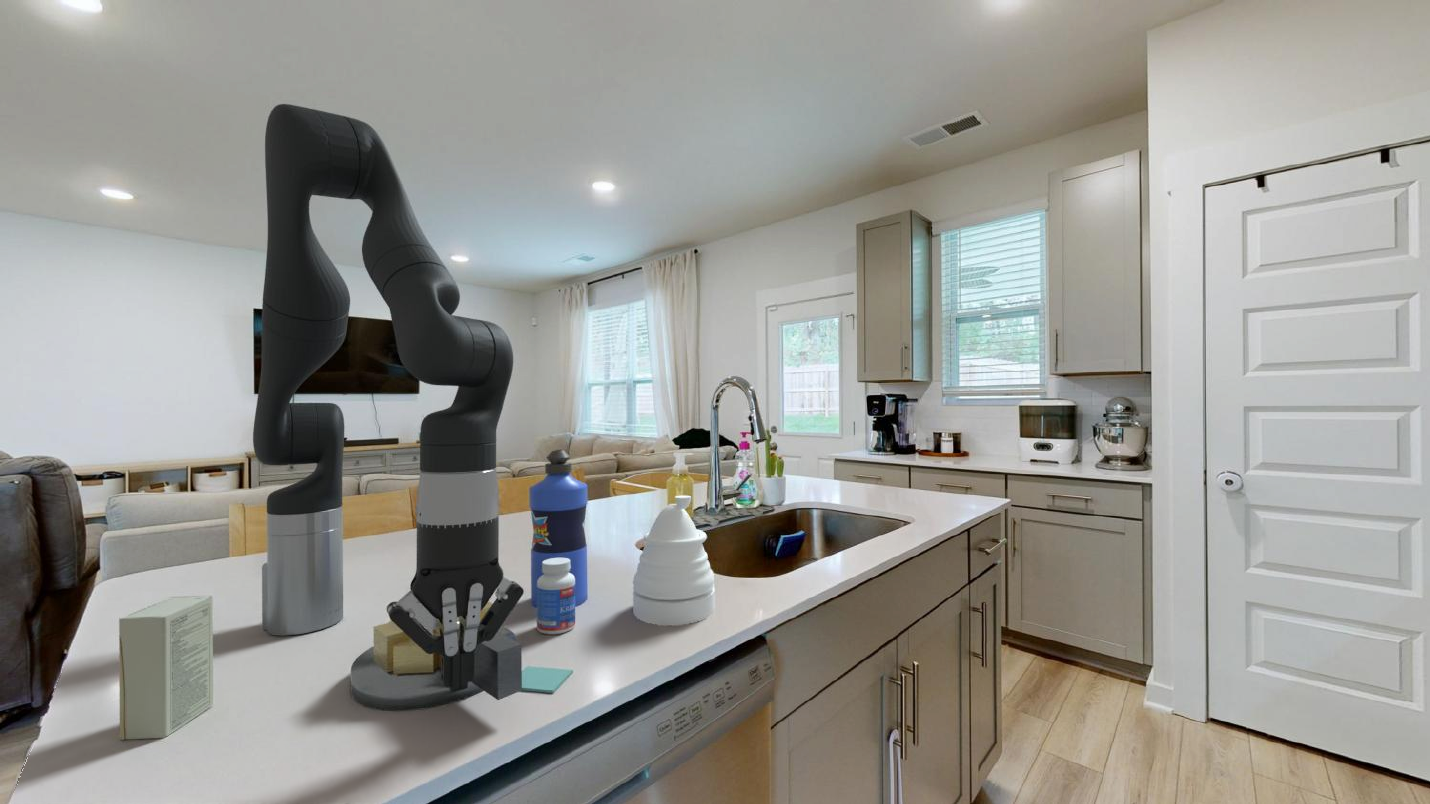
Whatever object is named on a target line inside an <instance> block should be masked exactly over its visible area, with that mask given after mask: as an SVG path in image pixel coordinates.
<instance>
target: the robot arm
mask: <svg viewBox="0 0 1430 804" xmlns="http://www.w3.org/2000/svg"><path fill="white" fill-rule="evenodd" d="M264 135H265V136H264V137H265V138H264V160H265V161H264V163H265V183H266V184H265V186H266V187H265V188H266V189H265V190H266V209H267V210H266V212H267V244H266V245H267V246H266V258H265V259H266V260H265V269H264V283H263V291H262V305H261V306H262V308H261V368H260V379H259V386H258V393H257V400H256V407H255V414H254V421H253V431H252V443H253V444H252V445H253V450H254V454H255V457H256V459H257V460H258V461H259V462H260V463H261V464H263V465H267V466H289V465H291V466H293V465H294V466H295V465H307V464H308V465H309V464H316V467H315V469H314V471H312V473H310V474H309V475H308V476H306V477H305V478H303V479H301V480H299V481H297V482H294V483H293V484H290V485H287V486H284V487H281V488H279V489H277V490H274V491H273V492H270V493H269V494H268V495H267V498H266V537H267V540H266V542H267V543H266V549H267V550H266V556H267V561H266V562H265V563H263V565H262V566H261V621H262V623H261V627H262V630H267V633H268V634H270V635H273V636H293V635H302V634H307V633H311V632H316V631H320V630H322V629H323V630H324V629H326V628H329V627H332V626H334V625H335V624H337V623H339V622H341V621H342V620H343V618H344V533H343V532H344V529H343V528H344V527H343V525H344V524H343V523H344V522H343V518H344V517H343V516H344V515H343V462H344V461H343V460H344V447H345V446H344V444H345V420H344V414H343V411H342V409H341V407H340V406H339V405H338V404H337V403H333V402H291V400H292V399H293V397H294V395H295V393H296V391H297V390H298V389H299V388H300V386H301V385H302V384H303V383H304V382H305V381H306V380H307V379H308V378H309V377H310V376H311V375H312V374H314V373H315V372H317V370H319V369H320V368H321V367H322V366H323V365H324V364H326V363H327V361H329V360H330V359H331V358H332V357H333V356H334V355H335V353H337V351H339V349H340V348H341V346H342V345H343V343H344V342H345V339H346V337H347V331H348V323H349V322H348V321H349V314H350V307H351V296H350V292H349V288H348V286H347V283H346V282H345V280H344V278H343V276H342V275H341V273H340V272H339V271H338V269H337V267H336V266H335V264H334V263H333V262H332V260H331V259H330V257H329V256H328V254H327V253H326V252H325V249H323V247H322V245H321V243H320V241H319V239H318V238H317V236H316V234H315V232H314V228H312V223H311V217H310V201H311V198H312V196H319V197H326V198H327V197H328V198H336V199H345V200H360V201H362V202H363V203H364V204H365V205H366V206H368V208H369V209H370V210H371V217H370V219H369V221H368V224H367V226H366V228H365V232H364V234H363V238H362V245H361V255H362V260H363V261H362V262H363V264H364V267H365V269H366V271H367V274H368V276H369V278H370V280H371V281H372V283H373V285H374V286H375V287H376V289H377V291H378V292H379V295H380V296H381V297H382V300H383V301H384V302H385V304H386V305H387V308H388V309H389V313H390V319H391V323H392V326H393V331H394V332H393V333H394V336H395V343H396V348H397V353H398V356H399V359H400V362H401V363H402V365H403V367H404V368H405V369H406V371H407V372H408V373H409V374H410V375H411V376H413V377H414V379H417V381H419V382H422V383H424V384H426V385H431V386H451V387H457V391H456V392H455V393H456V394H455V396H454V399H453V402H452V403H451V405H450V406H449V407H447V408H445V409H442V410H437V411H433V412H432V413H429V414H427V415H426V416H425V417H423V419H422V421H421V423H420V424H421V425H420V432H419V434H420V435H419V440H420V441H419V443H420V445H419V470H420V472H419V478H418V486H417V493H416V506H415V517H416V568H415V574H414V576H413V578H412V580H411V583H410V587H409V589H410V590H409V591H408V592H407V593H406V594H404V595H403V596H402V597H401V598H400V599H399V600H397V601H391V602H390V603H389V604H388V605H387V606H386V613H387V614H388V617H389V620H390V621H393V622H394V623H395V624H396V625H397V626H398V627H399V628H400V629H401V630H402V631H403V632H404V633H405V634H406V635H408V636H409V637H410V638H411V639H412V640H413V641H414V642H415V643H416V644H417V645H418V646H419V647H420V648H421V649H423V650H424V651H425V652H426V653H427V654H433V653H439V654H441V679H442V681H443V683H444V685H445V687H446V688H448V687H449V689H450V691H451V693H452V692H456V691H459V690H463V689H467V688H468V682H470V681H472V680H473V677H474V651H475V648H476V647H477V645H479V644H480V643H482V642H483V641H490V640H492V639H493V637H494V636H495V634H496V633H497V632H498V630H499V629H500V627H501V626H503V624H504V623H505V621H506V620H507V618H508V617H509V616H510V614H511V612H512V611H513V609H514V608H515V607H516V605H517V604H518V602H519V601H520V600H521V598H522V596H523V595H524V588H523V587H522V586H521V585H520V584H518V582H516V581H513V580H509V579H508V578H507V577H504V570H503V568H502V567H501V565H500V563H499V554H500V553H499V549H500V547H499V543H500V542H499V541H500V540H499V535H500V534H499V529H500V528H499V527H500V525H499V522H500V521H499V520H500V517H499V515H500V513H499V510H500V508H499V507H500V504H499V503H500V502H499V501H500V500H499V499H500V497H499V495H500V494H499V482H498V476H497V475H498V474H497V429H498V424H499V422H500V421H499V420H500V418H501V415H502V412H503V408H504V403H505V399H506V397H507V393H508V389H509V386H510V382H511V379H512V374H513V368H514V352H513V347H512V344H511V341H510V338H509V336H508V335H507V332H505V330H504V329H503V328H502V327H501V326H499V324H496V323H494V322H491V321H488V320H481V319H476V318H469V317H464V316H461V315H460V316H459V315H453V314H454V313H455V312H456V311H457V309H458V307H459V305H460V301H461V295H460V294H461V293H460V290H459V287H458V285H457V283H456V280H454V278H453V276H452V275H451V273H450V272H449V270H448V268H447V266H446V265H445V264H444V262H443V261H442V259H441V258H440V256H439V255H438V253H437V252H436V251H435V250H434V248H433V246H432V245H431V243H430V241H429V240H428V239H427V237H426V235H425V234H424V232H423V229H422V228H421V225H420V224H419V221H418V219H417V217H416V215H415V213H414V209H413V207H412V205H411V203H410V200H409V198H408V195H407V193H406V190H405V188H404V185H403V182H402V180H401V178H400V176H399V173H398V171H397V169H396V166H395V164H394V162H393V159H392V157H391V155H390V152H389V151H388V148H387V147H386V145H385V143H384V141H383V140H382V138H381V136H380V135H379V133H378V132H377V131H376V130H375V129H374V128H373V127H372V126H371V125H369V124H368V123H367V122H364V121H362V120H360V119H356V118H353V117H350V116H345V115H341V114H337V113H334V112H333V113H332V112H328V111H323V110H319V109H314V108H309V107H305V106H304V107H303V106H300V105H294V104H288V103H279V104H277V105H275V106H274V107H273V109H271V111H270V113H269V115H268V117H267V121H266V128H265V133H264ZM494 594H495V597H496V599H495V600H494V602H492V603H493V604H492V605H491V607H490V608H489V610H488V611H487V613H486V614H485V615H484V617H483V618H482V620H481V621H480V611H481V610H482V609H483V608H484V607H485V605H486V604H487V602H490V599H491V598H492V596H493V595H494ZM417 600H418V601H419V602H420V603H421V604H422V605H423V606H424V607H425V608H426V609H427V610H428V612H429V613H430V614H431V615H432V616H433V617H435V618H436V619H437V620H438V626H439V635H440V636H435V635H432V634H431V633H430V632H429V631H428V630H427V629H426V628H425V627H424V626H423V625H422V624H421V623H420V622H419V621H418V620H417V619H415V617H416V616H417V614H418V610H417V608H416V606H415V604H416V602H417ZM457 617H459V634H458V637H457V631H458V624H457ZM479 622H480V623H479ZM458 641H459V645H458Z"/></svg>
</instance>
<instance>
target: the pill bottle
mask: <svg viewBox="0 0 1430 804" xmlns="http://www.w3.org/2000/svg"><path fill="white" fill-rule="evenodd" d="M570 568H571V565H570V559H568V558H551V559H547V560H544V561H543V562H542V572H543V573H544V575H542V576H541V577H540V578H539V579H538V581H537V608H536V629H537V631H538V632H539V633H541V634H544V635H559V634H560V635H561V634H563V633H566V632H570V631H571V630H572V629H574V627H575V625H576V607H575V577H574V576H573V575H572V574H571V573H569V571H570Z"/></svg>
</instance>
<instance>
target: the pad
mask: <svg viewBox="0 0 1430 804" xmlns="http://www.w3.org/2000/svg"><path fill="white" fill-rule="evenodd" d="M573 673H574V670H573V669H567V668H565V669H564V668H554V667H553V668H552V667H542V666H530V665H527V666H526V667H524V669H522V691H527V692H537V693H546V694H547V693H548V694H554V693H555V692H556V691H557V690H558V689H559V688H560V687H561V686H562V685H563V684H564V682H566V680H567V679H568V678H569V677H570V676H571V675H572V674H573Z"/></svg>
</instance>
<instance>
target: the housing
mask: <svg viewBox="0 0 1430 804" xmlns="http://www.w3.org/2000/svg"><path fill="white" fill-rule="evenodd" d="M415 606H416V608H417V610H418V614H417V616H416V617H415V619H417V620H418V621H419V622H420V623H421V624H422V625H423V626H424V627H425V628H426V629H427V630H428V631H429V632H430V633H431V634H432V635H433V629H435V628H439V626H438V620H437V619H436V618H435V617H433V616H432V615H431V614H430V613H429V612H428V610H427V609H426V608H425V607H424V606H423V605H422V604H421V603H420V602H419V601H418V600H417V602H416V604H415ZM457 622H459V617H457ZM498 632H499V633H501V634H503V635H505V636H507V637H509V638H511V639H513V640H515V641H517V637H516V634H515V633H514V632H513V631H512V630H511V629H509V628H507V627H505V626H503V625H502V626H501V627H500V629H499V630H498ZM350 667H351V668H350V694H351V697H352V699H353V701H355V702H356V703H357V704H359V705H361V706H362V707H365V708H368V709H372V710H378V711H389V712H391V711H392V712H397V711H399V712H400V711H401V712H402V711H414V710H415V711H416V710H423V709H429V708H434V707H439V706H443V705H446V704H447V705H448V704H451V703H454V702H458V701H460V700H463V699H467V698H469V697H472V696H475V695H478V694H479V693H481V692H483V691H484V690H482V689H481V688H479V687H478V686H476V685H475V684H473V683H472V682H468V688H467V689H463V690H459V691H456V692H452V693H451V691H450V689H449V687H448V688H446V687H445V685H444V683H443V681H442V679H441V669H440V668H439V667H438V668H437V669H436V670H435V671H434V672H423V673H398V674H393V671H390V672H386V671H385V670H384V669H382V668H381V667H380V666H379V665H378V664H377V663H375V662H374V645H373V646H371V647H370V648H368V649H366V650H365V651H364V652H362V653H361V654H360V655H359V656H357V657H356V658H355V660H354V661H353V662H352V664H351V666H350ZM484 692H485V691H484Z"/></svg>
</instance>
